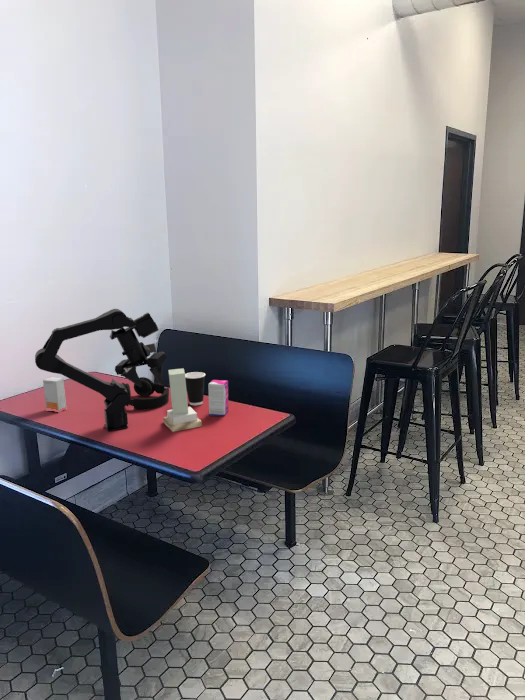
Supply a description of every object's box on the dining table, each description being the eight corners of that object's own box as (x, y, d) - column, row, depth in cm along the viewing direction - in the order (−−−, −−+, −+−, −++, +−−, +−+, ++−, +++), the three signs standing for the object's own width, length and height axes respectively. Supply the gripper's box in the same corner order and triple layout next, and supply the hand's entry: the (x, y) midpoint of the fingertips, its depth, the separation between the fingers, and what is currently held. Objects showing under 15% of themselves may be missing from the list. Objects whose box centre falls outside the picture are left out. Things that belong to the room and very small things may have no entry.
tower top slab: (173, 424, 190) (173, 417, 189) (167, 417, 197) (166, 410, 196) (197, 420, 193) (196, 413, 192) (190, 413, 200) (189, 406, 199)
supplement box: (225, 416, 202) (223, 384, 199) (208, 415, 203) (207, 384, 200) (229, 411, 207) (228, 379, 205) (213, 410, 208) (211, 379, 206)
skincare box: (45, 411, 212) (42, 379, 210) (54, 408, 216) (50, 376, 213) (59, 413, 210) (55, 381, 207) (67, 409, 214) (63, 378, 211)
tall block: (173, 415, 191) (169, 375, 187) (172, 409, 196) (168, 370, 192) (188, 413, 192) (184, 373, 188) (187, 407, 197) (183, 368, 193)
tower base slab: (172, 433, 189) (172, 426, 188) (163, 424, 197) (163, 417, 197) (201, 428, 193) (201, 420, 192) (191, 419, 202) (191, 412, 201)
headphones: (145, 372, 231) (179, 385, 219) (145, 390, 234) (179, 405, 221) (107, 383, 218) (141, 398, 206) (107, 402, 220) (141, 418, 208)
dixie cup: (181, 403, 218) (179, 374, 215) (199, 398, 222) (198, 370, 220) (192, 408, 211) (190, 378, 209) (210, 403, 216) (209, 374, 214)
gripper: (164, 328, 192) (184, 368, 198) (123, 338, 202) (143, 376, 207) (146, 344, 183) (168, 386, 189) (104, 354, 193) (126, 393, 198)
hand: (151, 384), depth 196 cm, fingers open, 9 cm apart
